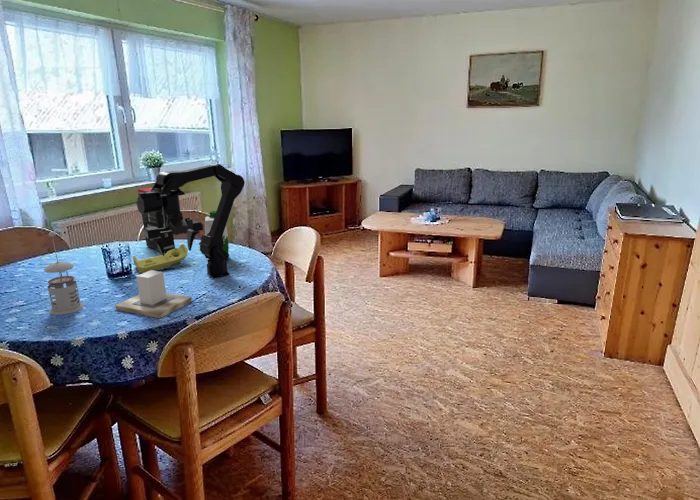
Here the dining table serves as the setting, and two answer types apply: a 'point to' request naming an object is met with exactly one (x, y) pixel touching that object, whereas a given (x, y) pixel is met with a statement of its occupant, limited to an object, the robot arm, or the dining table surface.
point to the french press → (62, 288)
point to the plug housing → (151, 287)
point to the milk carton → (208, 226)
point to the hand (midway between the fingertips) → (176, 253)
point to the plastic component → (161, 260)
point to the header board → (157, 309)
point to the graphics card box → (157, 221)
